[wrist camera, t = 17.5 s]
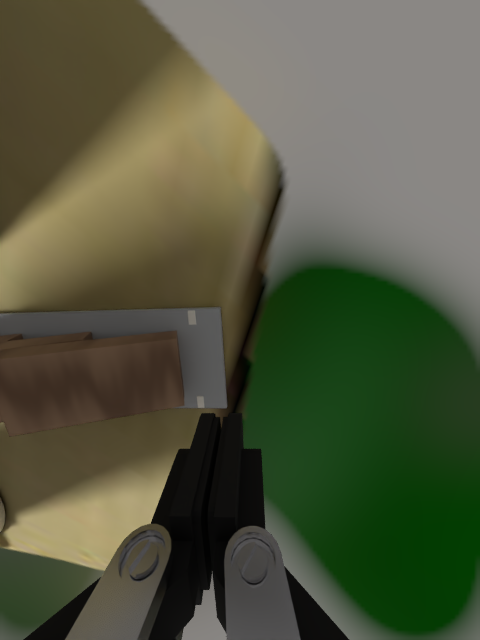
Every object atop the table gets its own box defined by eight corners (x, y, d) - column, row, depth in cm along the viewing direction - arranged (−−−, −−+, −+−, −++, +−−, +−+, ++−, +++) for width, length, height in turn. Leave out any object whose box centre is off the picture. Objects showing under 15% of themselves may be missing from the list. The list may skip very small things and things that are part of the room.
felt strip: (227, 405, 19) (226, 409, 18) (-139, 403, 21) (-148, 406, 21) (220, 306, 17) (219, 308, 16) (-186, 318, 19) (-197, 320, 19)
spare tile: (184, 405, 17) (9, 436, 14) (184, 391, 18) (27, 417, 16) (176, 338, 15) (-19, 361, 13) (176, 330, 17) (4, 349, 15)
